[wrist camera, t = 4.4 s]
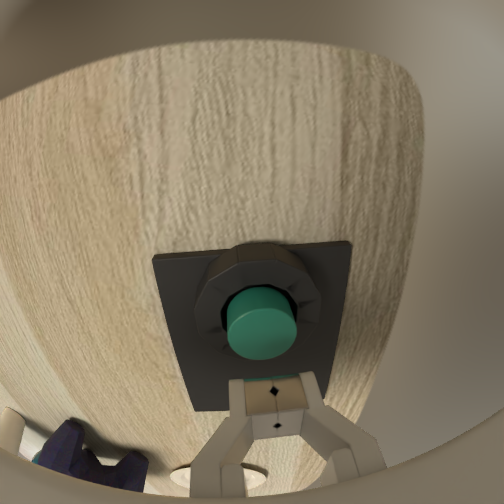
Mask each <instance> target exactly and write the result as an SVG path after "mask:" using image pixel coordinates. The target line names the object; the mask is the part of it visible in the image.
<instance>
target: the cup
mask: <svg viewBox="0 0 504 504" xmlns="http://www.w3.org/2000/svg"><path fill="white" fill-rule="evenodd" d="M25 423H26V422H25V420H24V419H23V418H22V417H21V416H20V415H19V414H18V413H17V412H15V411H14V410H12V409H10V408H8V407H5V409H4V410H3V412H2V413H1V415H0V447H1V448H2V449H4V450H6V451H8V452H10V453H12V454H14V455H16V456H18V452H19V447H20V443H21V439H22V435H23V431H24V427H25Z"/></svg>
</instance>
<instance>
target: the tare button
mask: <svg viewBox="0 0 504 504" xmlns="http://www.w3.org/2000/svg"><path fill="white" fill-rule="evenodd" d="M296 335H297V326H296V323H295V320H294V317H293V314H292V311H291V308H290V305H289V302H288V300H287V298H286V297H285V296H284V295H283V294H282V293H280V292H279V291H277V290H275V289H272V288H268V287H253V288H249V289H246V290H244V291H242V292H240V293H239V294H238V295H236V296H235V297H234V298H233V300H232V301H231V302H230V304H229V306H228V309H227V338H228V342H229V345H230V346H231V348H232V349H233V350H234V351H235V352H236V353H237V354H239V355H240V356H242V357H245V358H248V359H253V360H265V359H270V358H274V357H276V356H279V355H281V354H282V353H284V352H285V351H287V350H288V349H289V348H290V347H291V346H292V344H293V343H294V341H295V338H296Z"/></svg>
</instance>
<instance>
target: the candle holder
mask: <svg viewBox="0 0 504 504" xmlns="http://www.w3.org/2000/svg"><path fill="white" fill-rule="evenodd" d="M190 469H191V467H189V468H183V469H179V470H176V471H174V472H172V473H171V474H170V478H171V480H172V481H173V482H175V483H176V484H178V485H181V486H183V487H186V488H189V489H190ZM243 469H244V474H245V479H246V484H247V490H248V489H251V488H254V487H257V486H259V485H261V484H263V483H264V482H265V480H266V477H265V475H263V474H262V473H260V472H257V471H254V470H250V469H245V468H243Z"/></svg>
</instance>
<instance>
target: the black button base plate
mask: <svg viewBox="0 0 504 504" xmlns="http://www.w3.org/2000/svg"><path fill="white" fill-rule="evenodd" d="M351 247H352V245H351V244H350V243H349V242H348V241H339V242H325V243H310V244H296V245H282V246H277V245H274V244H272V243H262V244H248V245H238V246H235V247H233V248H232V249H226V250H212V251H199V252H185V253H172V254H158V255H154V257H153V259H152V263H153V268H154V272H155V277H156V281H157V286H158V290H159V294H160V298H161V302H162V306H163V310H164V314H165V318H166V322H167V325H168V329H169V333H170V336H171V340H172V343H173V347H174V350H175V353H176V357H177V360H178V363H179V366H180V370H181V373H182V376H183V379H184V382H185V385H186V388H187V391H188V394H189V397H190V399H191V402H192V405H193V408H194V411H196V412H197V411H229V410H230V406H229V380H234V379H243V380H244V379H251V378H266V377H272V376H280V375H287V374H295V373H304V372H310V371H312V372H313V373H314V374H315V378H316V381H317V384H318V387H319V390H320V393H321V396H322V399H324V398H325V394H326V390H327V386H328V382H329V378H330V373H331V369H332V364H333V360H334V355H335V350H336V345H337V340H338V335H339V329H340V324H341V318H342V312H343V306H344V300H345V294H346V287H347V280H348V272H349V264H350V256H351ZM253 287H268V288H272V289H275V290H277V291H279V292H280V293H282V294H283V295H284V296H285V297H286V298H287V300H288V302H289V305H290V308H291V311H292V314H293V317H294V320H295V323H296V326H297V335H296V338H295V341H294V343H293V344H292V346H291V347H290V348H289V349H288V350H287V351H285V352H284V353H282V354H281V355H279V356H276V357H274V358H270V359H265V360H253V359H248V358H245V357H242V356H240V355H239V354H237V353H236V352H235V351H234V350H233V349H232V348H231V346H230V345H229V342H228V338H227V309H228V306H229V304H230V302H231V301H232V300H233V298H234V297H235V296H236V295H238V294H239V293H240V292H242V291H244V290H246V289H249V288H253Z"/></svg>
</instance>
